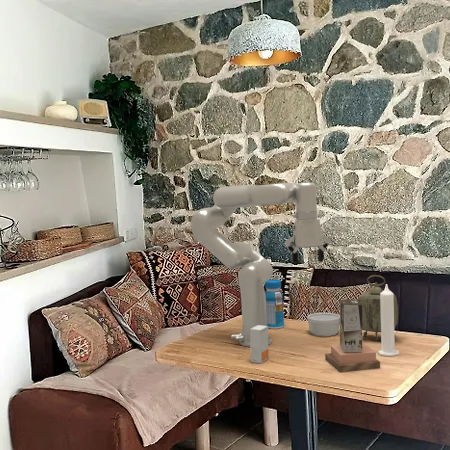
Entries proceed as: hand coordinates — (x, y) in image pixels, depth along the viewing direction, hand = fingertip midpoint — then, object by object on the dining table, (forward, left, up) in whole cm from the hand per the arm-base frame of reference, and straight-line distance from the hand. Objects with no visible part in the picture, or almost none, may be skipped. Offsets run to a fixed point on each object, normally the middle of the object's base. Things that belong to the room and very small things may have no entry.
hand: (308, 262), depth 220 cm
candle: (+23, -16, -32) cm, 43 cm away
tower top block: (+7, -22, -30) cm, 38 cm away
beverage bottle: (-4, +35, -32) cm, 48 cm away
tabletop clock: (+28, +2, -32) cm, 43 cm away
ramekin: (+12, +18, -33) cm, 39 cm away
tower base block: (+7, -22, -33) cm, 40 cm away
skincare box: (-22, -8, -32) cm, 40 cm away
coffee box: (+6, -22, -27) cm, 36 cm away
